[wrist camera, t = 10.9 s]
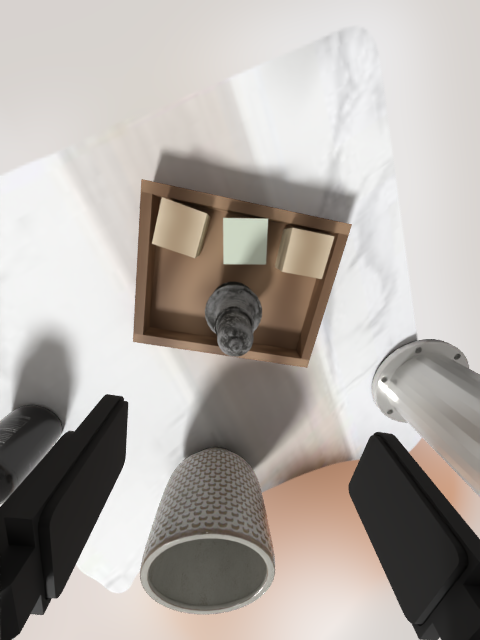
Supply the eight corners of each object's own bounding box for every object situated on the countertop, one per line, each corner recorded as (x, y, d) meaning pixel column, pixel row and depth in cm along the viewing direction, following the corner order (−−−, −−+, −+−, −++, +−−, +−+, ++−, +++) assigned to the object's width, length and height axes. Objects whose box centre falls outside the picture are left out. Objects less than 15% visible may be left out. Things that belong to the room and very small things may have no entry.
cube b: (262, 221, 25) (268, 218, 21) (260, 260, 27) (265, 264, 23) (223, 220, 25) (223, 217, 21) (224, 260, 26) (223, 264, 23)
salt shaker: (254, 274, 27) (273, 302, 16) (261, 323, 29) (281, 379, 18) (203, 283, 27) (184, 316, 16) (212, 331, 29) (202, 391, 18)
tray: (338, 225, 26) (351, 224, 23) (299, 355, 31) (307, 367, 28) (151, 185, 24) (141, 179, 21) (142, 331, 29) (133, 341, 26)
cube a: (319, 236, 26) (334, 236, 22) (308, 273, 27) (321, 279, 23) (283, 229, 26) (292, 227, 22) (274, 266, 27) (282, 271, 23)
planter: (215, 509, 40) (209, 629, 28) (149, 465, 36) (109, 582, 24) (279, 463, 37) (303, 574, 25) (214, 411, 34) (206, 511, 21)
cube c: (210, 217, 25) (207, 213, 21) (199, 255, 26) (195, 258, 22) (172, 203, 24) (161, 197, 21) (163, 242, 26) (151, 243, 22)
